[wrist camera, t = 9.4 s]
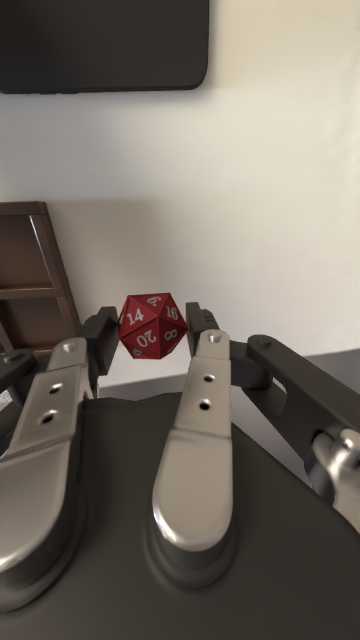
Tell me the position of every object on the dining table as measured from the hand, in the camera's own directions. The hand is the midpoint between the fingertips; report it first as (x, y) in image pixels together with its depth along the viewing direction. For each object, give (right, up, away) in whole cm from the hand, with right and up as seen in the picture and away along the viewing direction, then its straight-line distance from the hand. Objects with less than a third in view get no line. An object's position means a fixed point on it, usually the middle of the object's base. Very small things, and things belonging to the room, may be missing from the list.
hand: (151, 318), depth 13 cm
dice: (0, +1, +1) cm, 1 cm away
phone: (-4, +19, 0) cm, 20 cm away
